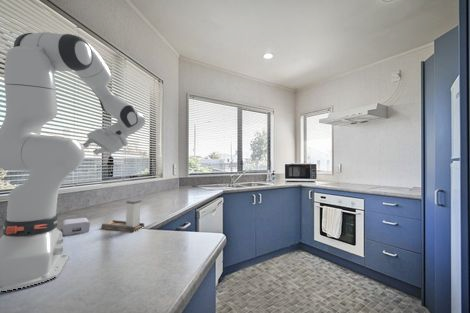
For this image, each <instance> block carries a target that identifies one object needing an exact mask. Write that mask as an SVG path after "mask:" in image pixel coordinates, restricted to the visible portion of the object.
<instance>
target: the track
mask: <svg viewBox="0 0 470 313" xmlns="http://www.w3.org/2000/svg"><path fill="white" fill-rule="evenodd" d="M142 227H144V228H145V223H143V222H140V224H139V225H138V226H136V227H130V226H126V220H125V221H124V220H115V219H113V220H112V222H108V223H101V229H103V230H112V231H120V232H128V231H130V232H129V233H134V231H135V232H137V231H139V230H138V229H140V228H142ZM142 229H143V228H142ZM136 230H137V231H136ZM140 230H141V229H140Z"/></svg>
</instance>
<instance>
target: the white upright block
mask: <svg viewBox="0 0 470 313" xmlns="http://www.w3.org/2000/svg"><path fill="white" fill-rule="evenodd" d="M141 203H142V200H141V199H130V200H129V199H128V200H127V201H126V203H125V204H126V216H125V221H126V226H130V227H136V226H138V225H139V224H140V223H141V222H140V219H141Z"/></svg>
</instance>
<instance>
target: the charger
mask: <svg viewBox="0 0 470 313" xmlns="http://www.w3.org/2000/svg"><path fill="white" fill-rule="evenodd" d="M61 226H62V227H61V229H62V231H61V232H62V236H63V235H64V236H70V235H77V234H84V233H89V231H90V228H91V227H90V226H91V222H89V219H88V218H87V217H78V218H68V219H64V220H63V221H62V223H61Z"/></svg>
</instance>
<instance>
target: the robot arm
mask: <svg viewBox="0 0 470 313" xmlns="http://www.w3.org/2000/svg"><path fill="white" fill-rule="evenodd" d="M106 63H107V62H105V60H104V59H103V58H102V56H101V55H100V54H99V52H98V51H97V50H96V49H95V48H94V47H93V45H92V44H90V43H89V41H88V40H86V39H84V38H82V37H80V36H78V35H75V34H70V33H65V34H63V33H58V32H57V33H55V32H48V31H47V32H45V31H44V32H35V33H33V32H27V33H22V34H20V35H19V36H17V37H16V38H15V40H14V43H13V47H11V48H9V49H8V50H7V51H6V56H5V61H4V70H3V71H4V72H3V76H4V78H3V79H4V91H5V92H4V93H5V116H4V120H3V122H2V125H0V169H2V170H5V171H6V170H7V171H13V172H14V171H16V172H17V171H18V172H19V171H20V172H21V171H22V172H29V173H28V177H27V179H26V180H25V182H24V183H23V184H20V185H17V186H16V187H14V188H13V189H11V190H10V192H9V193H8V197H7V208H6V209H7V210H6V219H4V221H3V222H4V223H3V225H2V234H3V235H2V236H1V237H0V291H6V292H8V291H7V290H12V291H14V290H13V289H16V290H19V289H18V288H21V289H24V288H23V287H25V288H28V287H27V286H29V287H31V286H30V285H33V286H35V285H34V284H37V283H40V282H43V281H46V280H48V279H52V278H54V277H56V276H58V277H59V275H60V274H59V273H61V271H63V268H64V267H65V265H66V263H67V261H68V259H69V258H70V256H69V255H70V254H69V253H65V252H63V250H64V246H63V243H64V239H63V231H61V230H59V229H58V228H57V226H58V222H59V221H58V220H59V219H58V214H57V206H58V198H59V192H60V189H61V186H62V184H63V182H64V181H65V179H66V178H67V177H68V176H69V175H70V174H71V173H72V172H74V171H75V170H77V169H78V168H79V167H80V166H81V165H82V164H83V163H84V160H85V154H86V153H85V149H86V148H87V149H88V147H89V146H90V145H92V144H93V143H94V144H95V145H97V146H99V147H100V148H98V149H94V150H93V154H94V155H99V154H103V153H106V152H108V153H109V154H114V153H116V152H117V151H120V150H121V149H122V148H124V146H128V145H129V142H128V140H127V138H128V137H129V136H130V135H133V134H135V133H137V132H138V131H139V130H141V129H142V128H143V127H144V126H145V124H146V119H145V116H144V115H143V114H142V113H141V112H139V111H137V109H136V107H135V106H134V105H132V104H131V103H129V102H128V101H125V100H124V99H122V98H121V97H119V96H118V95H116V94H115V93H113V92H112V91H111V90H110V88H109V86H108V85H110V82H111V81H112V77H113V76H112V72H111V70H110V69H109V67H108V64H106ZM72 71H73V72H74V73H75V74H76V75H77V76H78V78H80V80H81V81H82V82H83V83H84V84H85V85H87V86H88V87H89V88H90V89H91V90H92V92H93V93H94V95H95V96H96V97H97V99H98V100H99V104H100V106H101V109H102V111H103V112H104V113H106V114H108V115H110V116H111V117H112V118H115V119H116V120H117V122H115V123H112V125H109V126H108V127H104V128H97V129H95V130H92V131H90V132H88V133H87V135H86V137H87V140H86V141H85V142H84V143H82V144H81V143H80V141H78V140H77V139H73V138H69V137H65V136H60V135H59V136H58V135H41V134H42V132H41V131H42V128H43V127H44V125H45V124H46V123H49V122H51V121H53V120H54V119H55V118H56V117H57V115H58V103H57V102H58V100H57V88H56V86H57V85H56V79H55V73H56V72H72ZM84 148H85V149H84ZM58 274H59V275H58ZM56 278H57V277H56ZM54 279H55V278H54ZM52 280H53V279H52ZM40 284H41V283H40ZM37 285H38V284H37Z"/></svg>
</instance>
